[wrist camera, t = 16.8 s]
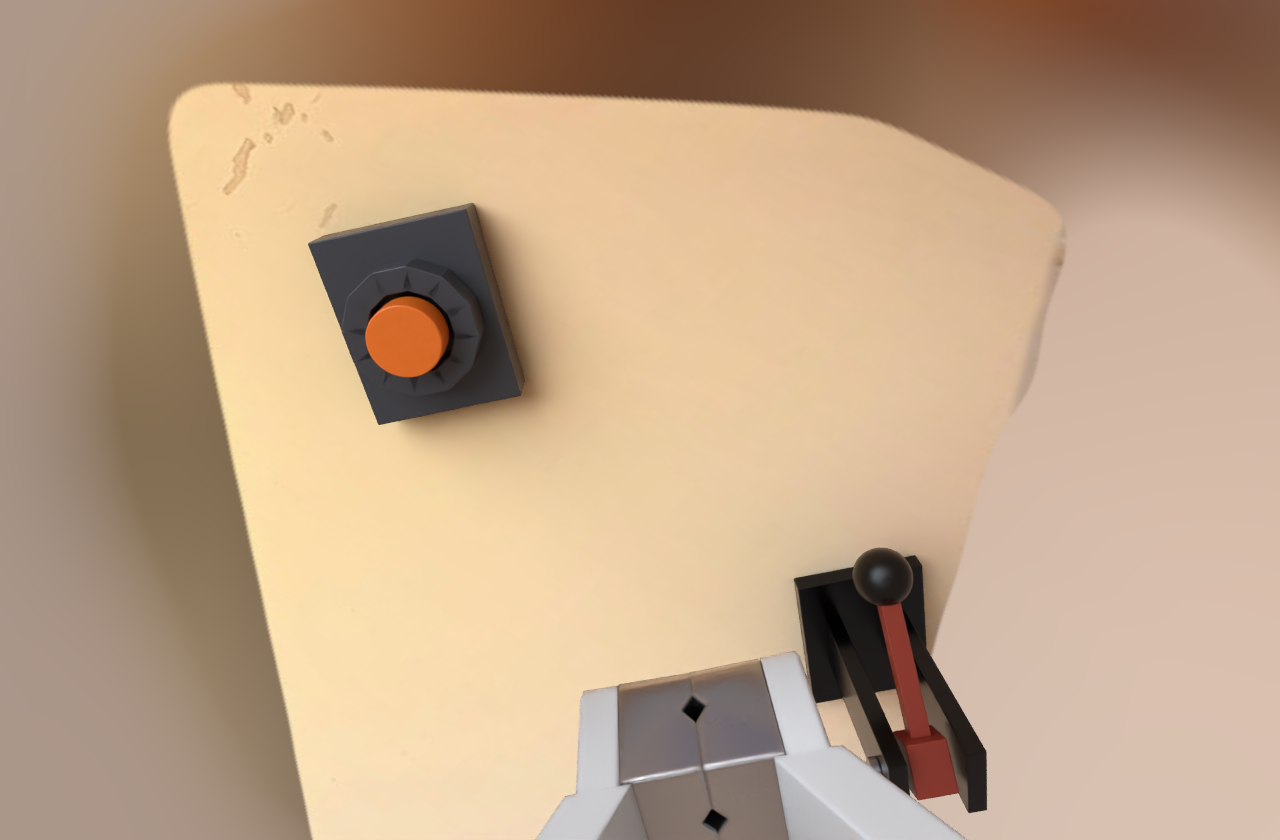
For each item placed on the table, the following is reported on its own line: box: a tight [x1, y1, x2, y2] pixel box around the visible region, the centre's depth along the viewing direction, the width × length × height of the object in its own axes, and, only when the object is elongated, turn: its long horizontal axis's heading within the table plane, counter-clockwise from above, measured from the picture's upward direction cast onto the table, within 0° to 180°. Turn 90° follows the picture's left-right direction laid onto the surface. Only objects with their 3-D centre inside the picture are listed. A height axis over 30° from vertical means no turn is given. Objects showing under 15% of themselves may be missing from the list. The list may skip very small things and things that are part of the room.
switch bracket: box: [794, 555, 987, 813], centre depth 43 cm, size 10×8×13 cm
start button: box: [365, 296, 449, 377], centre depth 35 cm, size 4×4×2 cm
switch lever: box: [853, 548, 959, 800], centre depth 40 cm, size 13×3×3 cm, turn 12°
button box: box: [308, 203, 525, 425], centre depth 37 cm, size 10×8×4 cm
